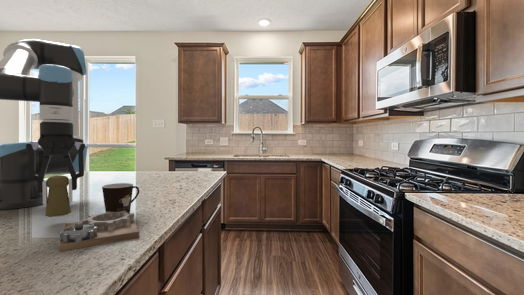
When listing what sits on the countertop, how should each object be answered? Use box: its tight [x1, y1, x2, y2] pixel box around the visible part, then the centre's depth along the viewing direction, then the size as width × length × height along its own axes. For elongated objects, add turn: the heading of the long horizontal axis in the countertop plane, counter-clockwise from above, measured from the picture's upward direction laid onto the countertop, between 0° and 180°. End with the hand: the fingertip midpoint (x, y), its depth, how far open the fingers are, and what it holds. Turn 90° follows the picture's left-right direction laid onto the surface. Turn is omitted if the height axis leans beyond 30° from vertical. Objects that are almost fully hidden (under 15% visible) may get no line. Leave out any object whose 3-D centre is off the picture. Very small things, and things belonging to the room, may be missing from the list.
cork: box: [44, 174, 72, 218], centre depth 77 cm, size 6×6×11 cm
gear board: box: [58, 211, 140, 252], centre depth 70 cm, size 17×16×4 cm
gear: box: [59, 223, 97, 243], centre depth 63 cm, size 7×7×3 cm
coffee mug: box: [101, 182, 140, 214], centre depth 85 cm, size 12×9×10 cm
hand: (58, 202), depth 77 cm, fingers closed on cork, 5 cm apart
